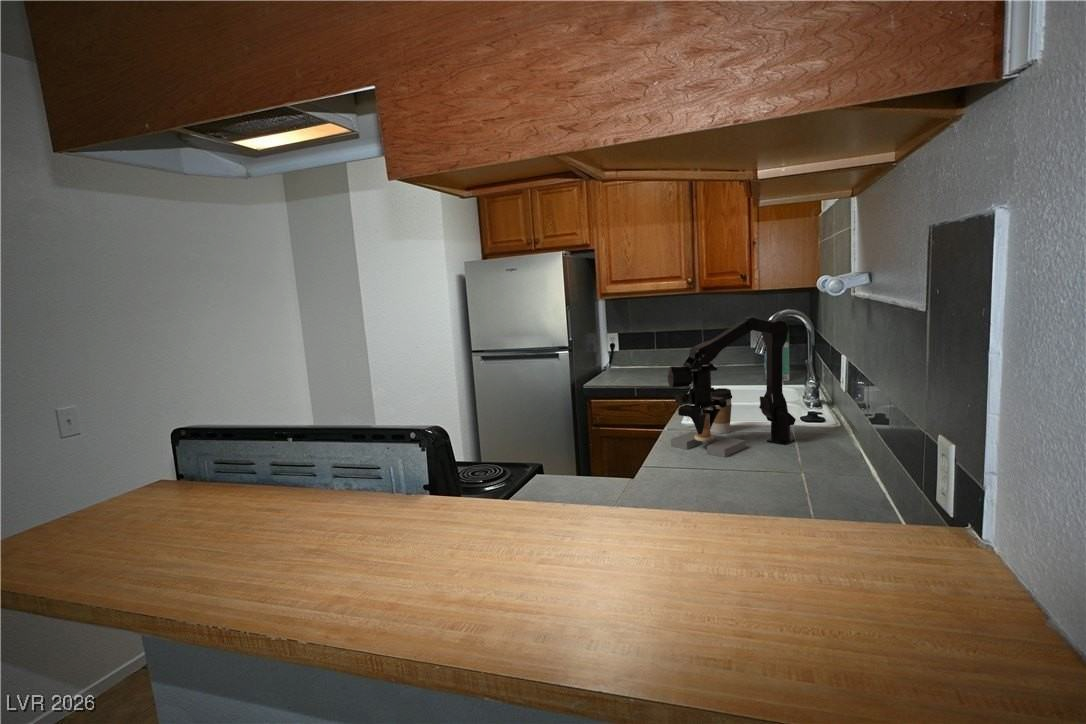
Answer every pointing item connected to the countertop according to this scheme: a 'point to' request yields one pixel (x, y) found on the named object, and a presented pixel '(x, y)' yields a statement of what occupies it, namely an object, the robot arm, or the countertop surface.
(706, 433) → the spool
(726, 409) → the coffee cup
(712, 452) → the gray u-shaped block
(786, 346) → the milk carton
